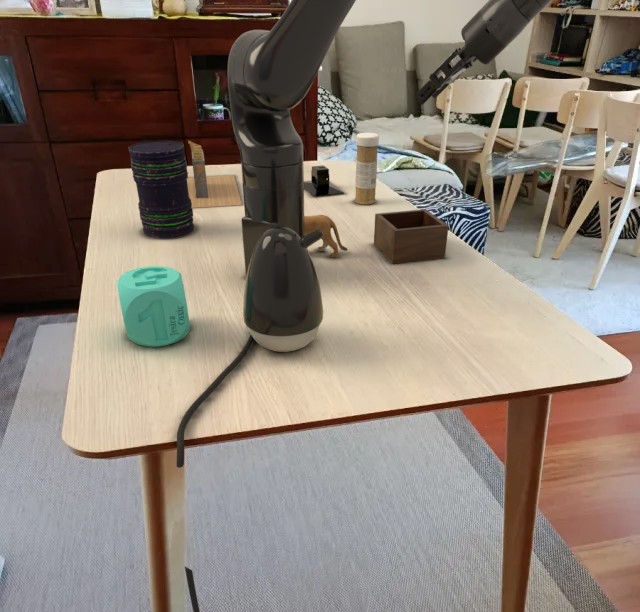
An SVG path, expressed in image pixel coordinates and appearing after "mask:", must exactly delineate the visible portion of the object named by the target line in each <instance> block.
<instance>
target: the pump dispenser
mask: <svg viewBox="0 0 640 612" xmlns="http://www.w3.org/2000/svg"><path fill="white" fill-rule="evenodd" d="M321 238H323V233H322V231H321V230H317V231H314V232H312V233H310V234H307V235H305V236H303V237H300V236H299V235H298V234H297V233H296V232H295V231H293V230H292V229H290V228H288V227H284V226H276V227H273V228H270V229H268V230H267V231H265V232H264V233H263V234H262V236H261V237H260V239H259V240H258V242H257V244H256V247H255V249H254V251H253V254H252V257H251V260H250V264H249V267H248V271H247V276H246V275H245V282H244V289H243V302H242V303H243V305H242V309H243V310H242V314H243V322H244V324H245V326H246V327H247V329H248V331H249V333H250V334H251V335H252V337H253V338H254V341H255V342H256V343H257V344H259V345H260V346H261V347H262V348H265V349H267V350H270V351H273V352H279V353H288V352H294V351H297V350H300V349H303V348H305V347H306V346H308V345H309V344H310V343H311V342H312V341H313V340H314V339H315V337H316V335H317V333H318V332H319V328H320V325H321V323H322V322H323V319H324V305H323V298H322V297H323V296H322V292H321V286H320V282H319V276H318V273H317V270H316V267H315V264H314V262H313V259H312V257H311V254H310V253H309V250H308V248H309V247H311V246H312V245H314V244H315V243H317V242H318V241H320V240H322V239H321Z"/></svg>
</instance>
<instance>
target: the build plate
mask: <svg viewBox="0 0 640 612" xmlns="http://www.w3.org/2000/svg"><path fill="white" fill-rule="evenodd" d="M310 178H311V179H310V180H304V191H306V192H307V193H309V195H310V196H312V197H313V198H321V197H322V198H323V197H332V196H339V195H345V192H344V191H343V190H342V189H340V188H339V187H337V186H335V184H333V183H332V182H331V181H330V169H329V168H328V167H326V166H325V165H313V166H311V170H310Z"/></svg>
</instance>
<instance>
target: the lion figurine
mask: <svg viewBox="0 0 640 612" xmlns="http://www.w3.org/2000/svg"><path fill="white" fill-rule="evenodd" d="M304 223H305V235H307V234H310V233H312V232H314V231H317V230H321V231H322V233H323V238H321V239H320V240H321V241H322V245H321V246H318V247H317V251H318V252H324V251H326V249H327V247H330V248H331V249H332V250H333V252H330V253H329V256H330V257H331V258H334V259H335V258H337V257H338V256H339V248H340V250H341V251H344V252H347V251H349V249H348V247H346V246H344V245H343V244H342V242H341V237H340V234H339V231H338V227H337V225H336V223H335V222H334V220H333V219H332V218H330V217H329V216H327V215H325V214H317V215H316V214H315V215H304ZM332 230H333V233H334V236H335V239H336V241H335V240H334V238H333V236H332Z"/></svg>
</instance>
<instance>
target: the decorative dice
mask: <svg viewBox="0 0 640 612" xmlns="http://www.w3.org/2000/svg"><path fill="white" fill-rule="evenodd" d="M116 281H117V291H118V297H119V303H120V304H119V305H120V310H121V314H122V319H123V320H122V321H123V324H124V328H125V333H126V337H127V339H128V340H129V341H130V342H132V343H134V344H136V345H139V346H142V347H149V348H156V347H158V348H159V347H165V346H169V345H173V344H176V343H178V342H180V341H182V340H183V339H184V338H186V336H187V335H188V334H189V332H190V331H191V324H190V317H189V309H188V303H187V296H186V292H185V287H184V280H183V277H182V273H181V272H180V271H178V270H177V269H175V268H173V267H169V266H164V265H149V266H142V267H137V268H133V269H130V270H128V271H126V272H124V273H123V274H121V275H120V276H119V277H118V279H117V280H116Z"/></svg>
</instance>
